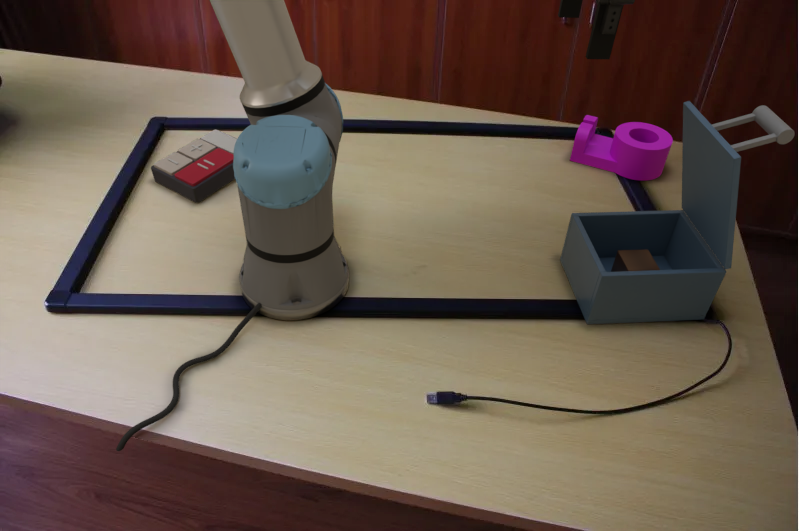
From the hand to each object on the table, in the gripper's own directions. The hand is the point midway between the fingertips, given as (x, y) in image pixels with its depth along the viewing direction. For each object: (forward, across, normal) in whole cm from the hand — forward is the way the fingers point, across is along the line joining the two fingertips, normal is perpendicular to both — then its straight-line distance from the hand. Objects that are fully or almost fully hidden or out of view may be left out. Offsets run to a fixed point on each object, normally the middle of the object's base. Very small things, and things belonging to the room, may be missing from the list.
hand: (581, 36), depth 82 cm
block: (+31, +13, +10) cm, 35 cm away
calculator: (+32, -18, -54) cm, 66 cm away
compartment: (+31, +13, +10) cm, 36 cm away
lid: (+14, +13, +16) cm, 25 cm away
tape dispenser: (+32, -21, +20) cm, 43 cm away
